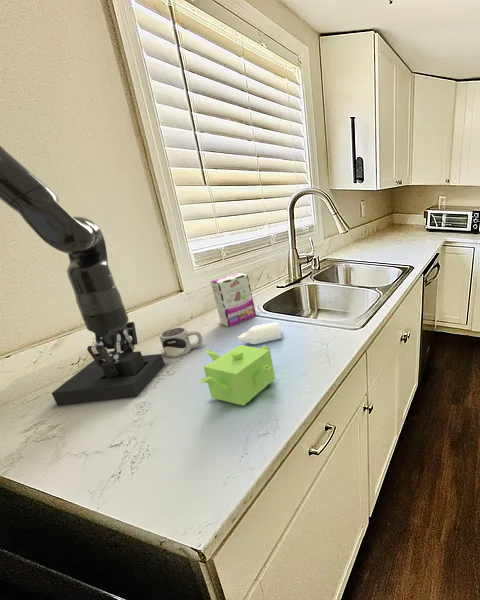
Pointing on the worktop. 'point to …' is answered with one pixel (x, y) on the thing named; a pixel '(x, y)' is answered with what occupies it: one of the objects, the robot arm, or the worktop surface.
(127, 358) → the small pad
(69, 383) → the base pad
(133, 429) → the worktop surface
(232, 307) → the candy bar box
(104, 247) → the robot arm
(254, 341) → the white tapered cylinder
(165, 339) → the mug
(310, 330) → the worktop surface
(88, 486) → the worktop surface
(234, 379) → the kettle
